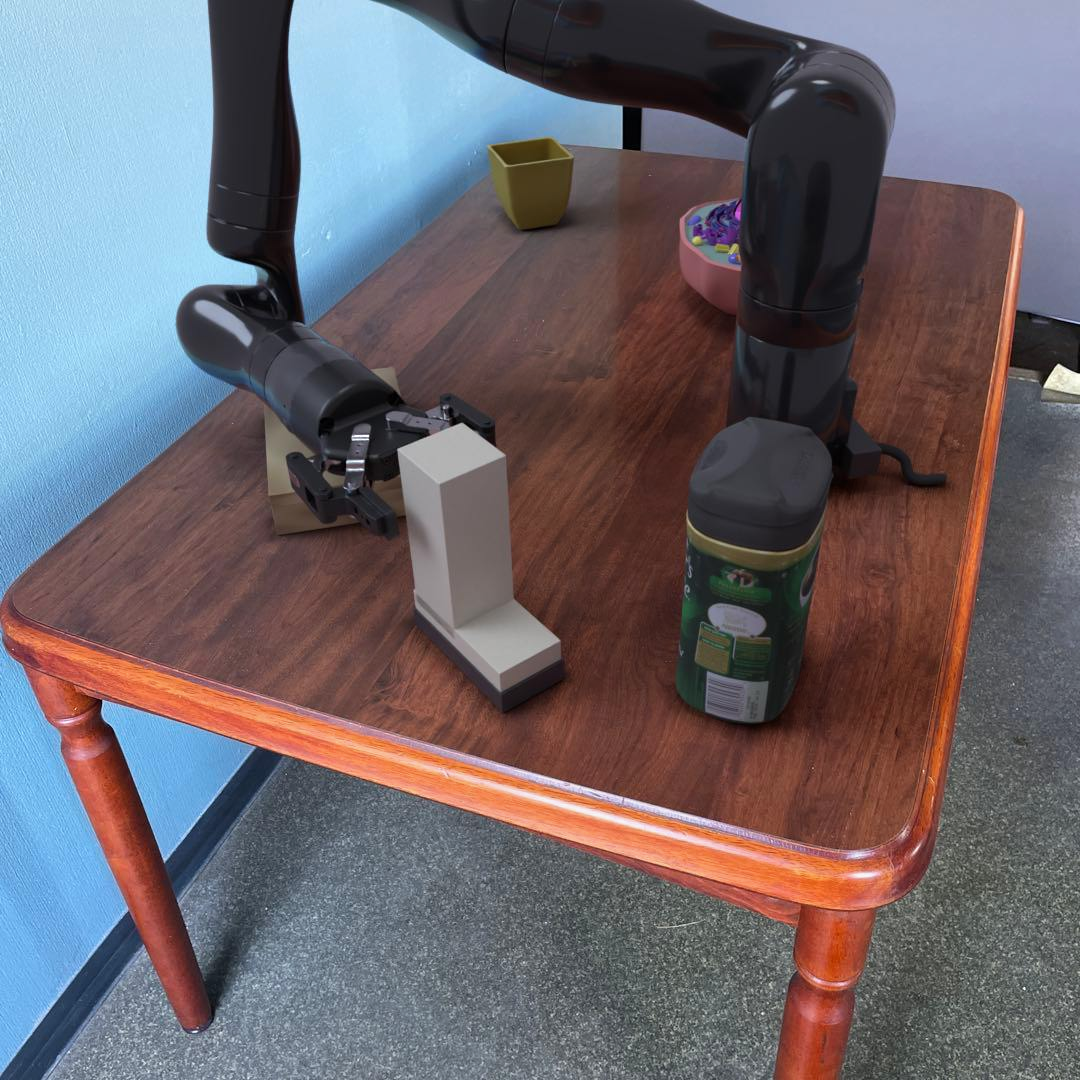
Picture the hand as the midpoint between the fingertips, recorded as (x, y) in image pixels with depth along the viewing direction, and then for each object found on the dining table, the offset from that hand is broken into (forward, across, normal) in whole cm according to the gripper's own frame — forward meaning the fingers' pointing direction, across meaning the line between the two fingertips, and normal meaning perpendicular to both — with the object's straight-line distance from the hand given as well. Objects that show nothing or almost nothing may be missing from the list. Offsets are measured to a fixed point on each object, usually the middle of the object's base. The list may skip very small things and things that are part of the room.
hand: (449, 502), depth 71 cm
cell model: (-24, +53, +11) cm, 59 cm away
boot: (+3, 0, +11) cm, 11 cm away
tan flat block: (-24, +3, +11) cm, 27 cm away
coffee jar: (+16, +12, +11) cm, 23 cm away
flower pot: (-57, +49, +11) cm, 76 cm away
